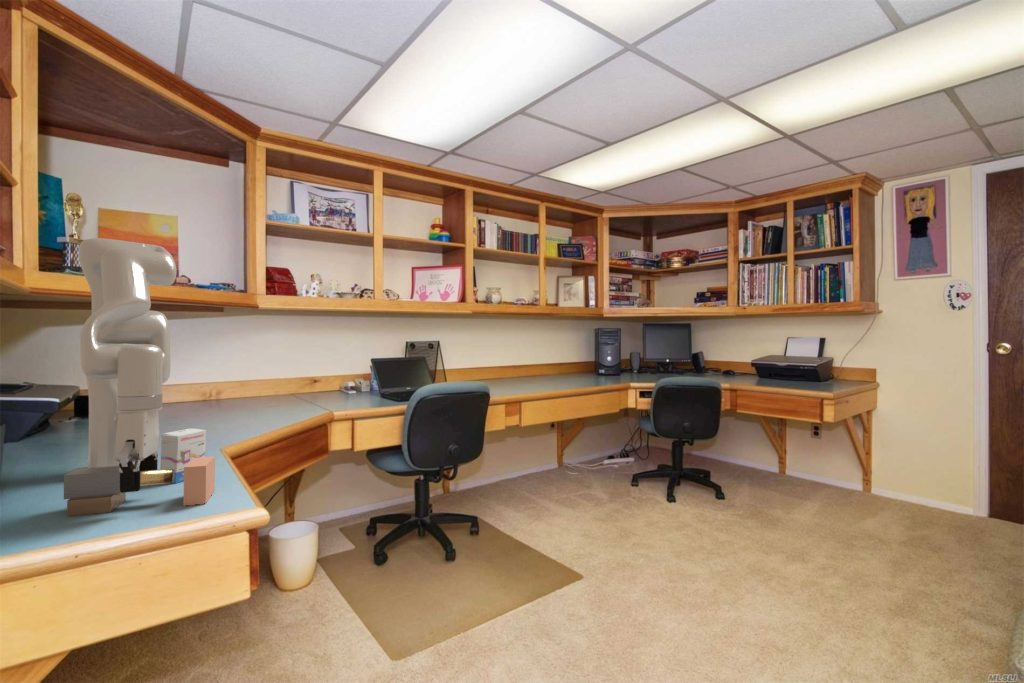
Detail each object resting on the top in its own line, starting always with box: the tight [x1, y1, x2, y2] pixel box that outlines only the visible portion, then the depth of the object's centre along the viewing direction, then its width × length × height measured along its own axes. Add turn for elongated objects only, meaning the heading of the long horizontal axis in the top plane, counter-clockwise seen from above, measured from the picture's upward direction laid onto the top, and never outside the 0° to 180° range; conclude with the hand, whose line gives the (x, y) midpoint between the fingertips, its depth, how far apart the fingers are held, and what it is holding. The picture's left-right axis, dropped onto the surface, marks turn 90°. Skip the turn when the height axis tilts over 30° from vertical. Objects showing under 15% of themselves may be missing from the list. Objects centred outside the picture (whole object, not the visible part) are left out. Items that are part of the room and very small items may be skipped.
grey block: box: [63, 466, 127, 517], centre depth 96 cm, size 9×7×8 cm
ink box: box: [159, 427, 207, 484], centre depth 117 cm, size 9×5×12 cm, turn 168°
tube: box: [140, 469, 175, 487], centre depth 98 cm, size 16×3×3 cm, turn 111°
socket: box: [183, 456, 216, 507], centre depth 103 cm, size 4×8×8 cm, turn 21°
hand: (139, 484), depth 99 cm, fingers open, 9 cm apart
